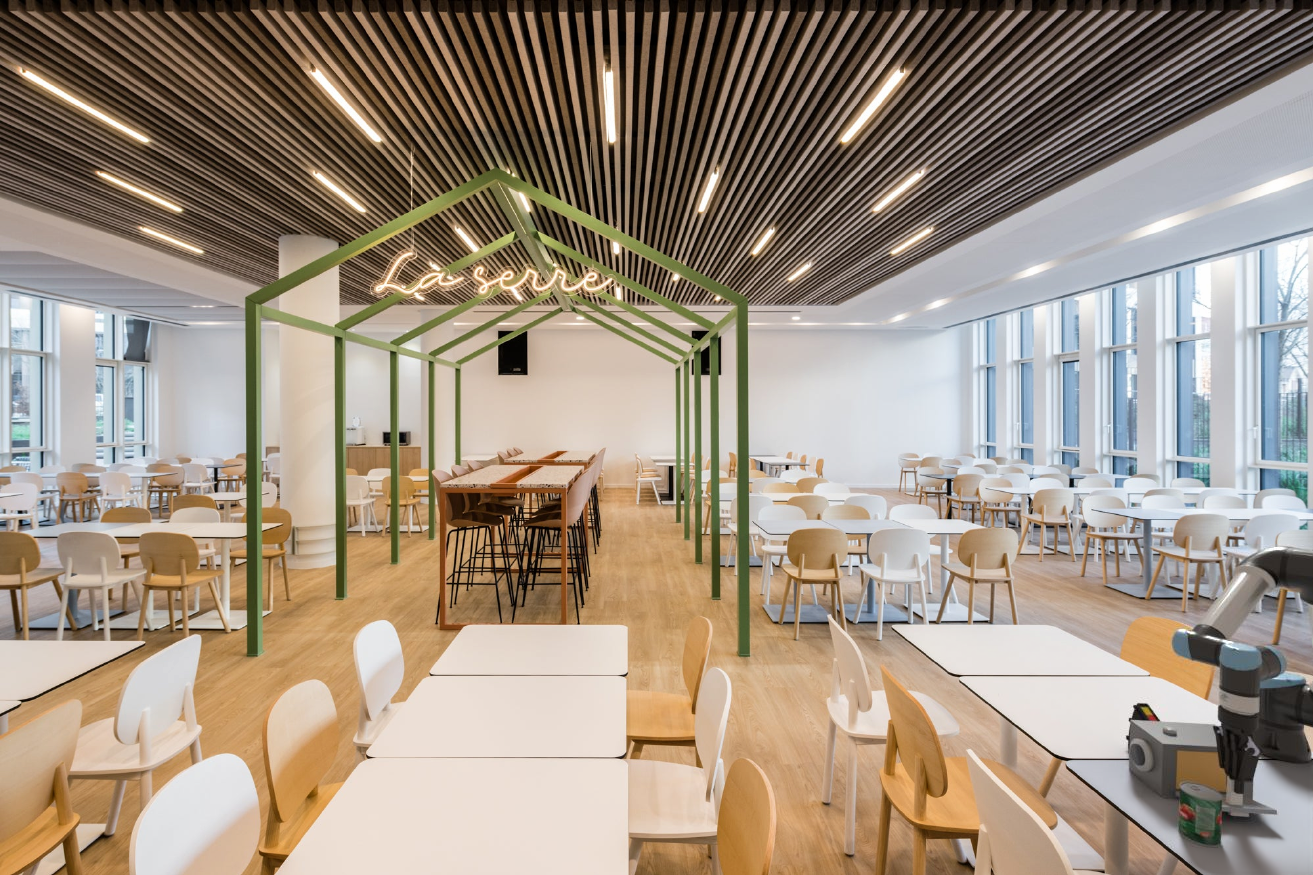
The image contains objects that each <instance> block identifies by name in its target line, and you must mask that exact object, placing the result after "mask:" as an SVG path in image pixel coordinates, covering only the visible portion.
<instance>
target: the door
mask: <svg viewBox="0 0 1313 875" xmlns="http://www.w3.org/2000/svg"><path fill="white" fill-rule="evenodd" d="M1175 794H1176V796H1178V797H1179V791H1175ZM1221 795H1222V812H1227V813H1228V814H1227V815H1230V816H1233V817H1247V818H1248V817H1250V814H1259V815H1260V814H1261V815H1263V814H1264V815H1278V812H1277V810H1276V809H1275V808H1273V807H1271V806H1268V805H1266V804H1263V803H1260V802H1259V801H1256V800H1254V799H1253V800H1252V799H1249V798H1247V797H1245V796H1243V803H1242V806H1238V805H1230V804H1228V803H1227V802H1226V794H1221Z"/></svg>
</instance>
